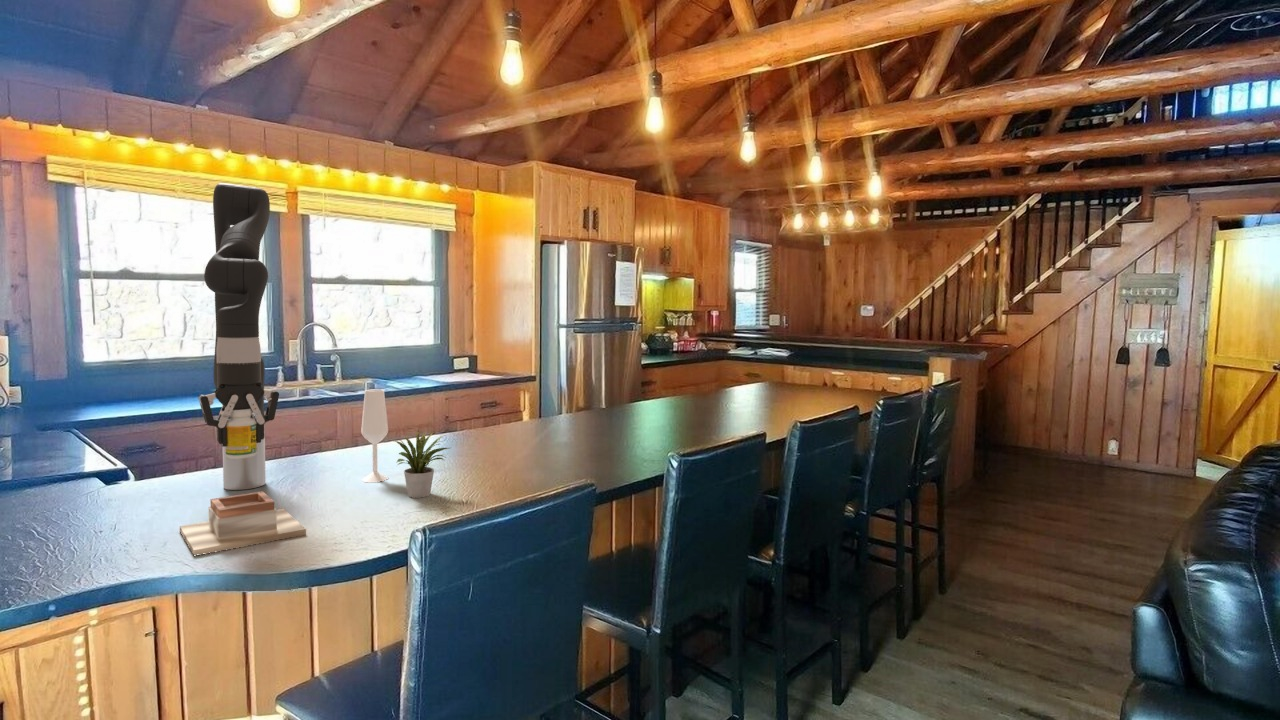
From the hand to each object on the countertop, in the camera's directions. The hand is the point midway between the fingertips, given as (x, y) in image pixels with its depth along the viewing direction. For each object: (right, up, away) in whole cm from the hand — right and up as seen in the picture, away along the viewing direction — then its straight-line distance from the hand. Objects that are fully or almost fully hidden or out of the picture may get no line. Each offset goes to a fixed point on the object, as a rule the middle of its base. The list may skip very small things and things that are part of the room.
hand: (241, 443), depth 132 cm
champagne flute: (+9, -15, +45) cm, 48 cm away
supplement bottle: (0, -3, 0) cm, 3 cm away
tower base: (0, -18, +1) cm, 18 cm away
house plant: (+25, -17, +30) cm, 43 cm away
